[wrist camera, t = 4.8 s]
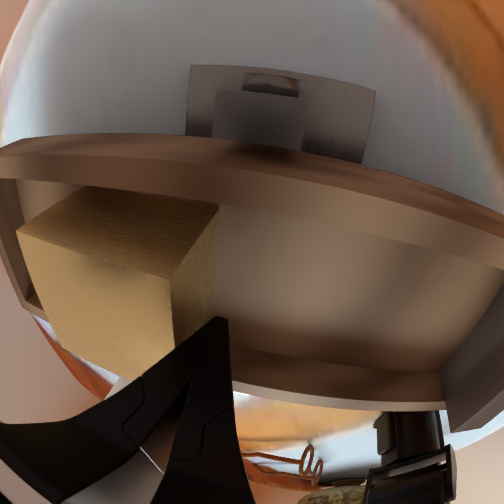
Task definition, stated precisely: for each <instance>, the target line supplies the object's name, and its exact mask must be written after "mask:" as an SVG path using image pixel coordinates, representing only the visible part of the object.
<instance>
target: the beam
mask: <svg viewBox="0 0 504 504" xmlns="http://www.w3.org/2000/svg"><path fill="white" fill-rule="evenodd" d="M84 186H91V187H98V188H105V189H111V190H117V191H124V192H130V193H136V194H142V195H148V196H154V197H159V198H165V199H171V200H176V201H182V202H187V203H192V204H198V205H203V206H208V207H213V208H218V209H220V210H219V221H218V232H217V243H216V255H215V268H214V282H213V296H212V312H211V319H212V318H213V317H214V316H216V315H218V316H222V317H225V318H228V319H229V330H230V350H231V367H232V384H233V391H234V392H239V393H243V394H248V395H253V396H258V397H263V398H268V399H273V400H279V401H285V402H291V403H298V404H305V405H312V406H321V407H330V408H340V409H353V410H369V411H433V410H447V415H448V420H449V426H450V432H451V433H455V432H461V431H467V430H473V429H478V428H481V427H483V426H484V425H485V424H487V423H488V422H489V421H491V420H492V419H493V418H494V417H495V416H497V415H498V414H499V413H500V412H501V411H503V410H504V215H502V214H500V213H498V212H496V211H494V210H491V209H489V208H487V207H484V206H482V205H480V204H477V203H475V202H473V201H470V200H468V199H465V198H463V197H460V196H457V195H455V194H452V193H450V192H447V191H444V190H441V189H439V188H436V187H433V186H430V185H427V184H424V183H421V182H418V181H415V180H412V179H409V178H406V177H402V176H399V175H396V174H392V173H389V172H386V171H382V170H378V169H375V168H371V167H367V166H364V165H360V164H356V163H352V162H348V161H344V160H339V159H335V158H331V157H326V156H321V155H317V154H312V153H307V152H302V151H297V150H291V149H286V148H280V147H274V146H268V145H261V144H255V143H248V142H240V141H232V140H224V139H215V138H204V137H193V136H180V135H163V134H136V133H97V134H71V135H56V136H44V137H34V138H25V139H21V140H18V141H16V142H13V143H11V144H8V145H6V146H3V147H1V148H0V255H1V258H2V260H3V263H4V266H5V268H6V271H7V274H8V276H9V278H10V281H11V283H12V285H13V288H14V290H15V292H16V294H17V297H18V299H19V301H20V303H21V305H22V307H23V308H24V309H26V310H28V311H29V312H31V313H33V314H34V315H36V316H38V317H40V318H41V319H43V320H45V321H47V322H49V320H48V318H47V316H46V313H45V311H44V309H43V307H42V304H41V302H40V300H39V297H38V295H37V293H36V290H35V287H34V285H33V282H32V280H31V277H30V274H29V272H28V269H27V266H26V263H25V260H24V257H23V254H22V251H21V247H20V244H19V241H18V237H17V234H16V230H17V229H19V228H20V227H22V226H23V225H24V224H26V223H27V222H29V221H30V220H31V219H33V218H34V217H36V216H37V215H39V214H40V213H42V212H43V211H45V210H46V209H48V208H49V207H51V206H52V205H54V204H55V203H57V202H59V201H60V200H62V199H63V198H65V197H67V196H68V195H70V194H72V193H73V192H75V191H77V190H78V189H80V188H82V187H84ZM49 323H50V322H49Z"/></svg>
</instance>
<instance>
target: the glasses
mask: <svg viewBox="0 0 504 504" xmlns="http://www.w3.org/2000/svg"><path fill="white" fill-rule="evenodd" d="M309 450H310V459H309V463H308V466H307V468H306V470H305V471H303V465H304V461H305V458H306V455H307V453H308V451H309ZM241 455H242V457H256V456H258V457H263V458H267V459H272V460H277V461H282V462H288V463H293V464H300V465H299V474H300V475H297V474H291V473H286V472H266V471H264V470H263V469H261V468H260V467H259V466H258V465H257V464H252V465H253V466H254V467H256V468H257V469H258V470H259V471H260V472H261V473H262V474H266V475H284V476H290V477H295V478H301V479H307V480H311V484H312V485H313V486H316V485H317V483H318V482H319V479H320V477H321V474H322V469H323V462H322V461H320V460H319V461H318V462H317V463H316V466H315V468H314V471H313V472H312V471H311V465H312V461H313V457H314V448H313V447H312V446H307V447H306V449H305V450H304V452H303V455H302V458H301V460H296V459H290V458H285V457H279V456H274V455H269V454H264V453H260V452H255V453H241ZM319 465H320V470H319V474H318V477H315V474H316V471H317V468H318V466H319ZM307 474H309V475H310V476H312V477H310V476H306V475H307Z"/></svg>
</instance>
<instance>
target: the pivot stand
mask: <svg viewBox="0 0 504 504" xmlns="http://www.w3.org/2000/svg"><path fill="white" fill-rule="evenodd" d="M375 95H376V91H375V90H371V89H368V88H364V87H361V86H357V85H353V84H349V83H345V82H341V81H337V80H332V79H328V78H323V77H318V76H313V75H307V74H301V73H295V72H289V71H281V70H274V69H265V68H255V67H243V66H226V65H191V68H190V78H189V89H188V101H187V115H186V131H185V136H193V137H204V138H215V139H224V140H232V141H240V142H248V143H255V144H261V145H268V146H274V147H280V148H286V149H291V150H297V151H302V152H307V153H312V154H317V155H321V156H326V157H331V158H335V159H339V160H344V161H348V162H352V163H356V164H360V165H361V163H362V158H363V154H364V150H365V145H366V141H367V136H368V131H369V126H370V121H371V116H372V111H373V106H374V100H375ZM233 392H234V391H233ZM234 393H239V392H234ZM239 394H243V393H239ZM243 395H248V394H243ZM248 396H250V395H248Z"/></svg>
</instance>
